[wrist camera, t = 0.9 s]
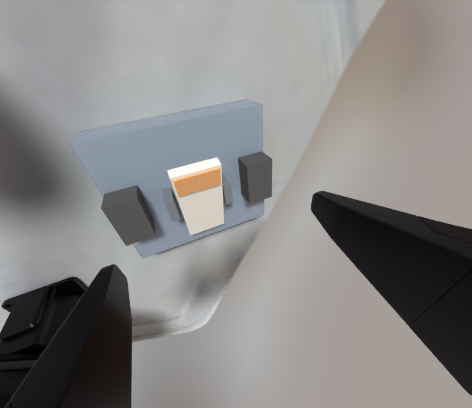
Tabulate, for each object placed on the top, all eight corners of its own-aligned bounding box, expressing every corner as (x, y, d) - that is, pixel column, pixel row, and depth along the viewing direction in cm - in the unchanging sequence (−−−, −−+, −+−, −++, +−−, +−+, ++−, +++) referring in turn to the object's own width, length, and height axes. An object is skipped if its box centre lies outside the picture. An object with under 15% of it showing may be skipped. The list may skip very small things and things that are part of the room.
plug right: (261, 186, 21) (271, 196, 20) (241, 193, 20) (249, 204, 19) (261, 151, 19) (272, 159, 17) (237, 157, 18) (247, 166, 16)
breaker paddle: (221, 217, 20) (224, 224, 20) (188, 228, 20) (190, 236, 19) (217, 157, 14) (222, 165, 13) (167, 170, 13) (170, 180, 12)
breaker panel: (252, 201, 26) (273, 226, 22) (141, 238, 22) (142, 276, 18) (246, 99, 18) (276, 109, 15) (79, 131, 15) (59, 156, 11)
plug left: (154, 221, 18) (156, 235, 17) (127, 230, 18) (126, 245, 16) (136, 184, 16) (136, 197, 14) (104, 193, 15) (100, 208, 14)
